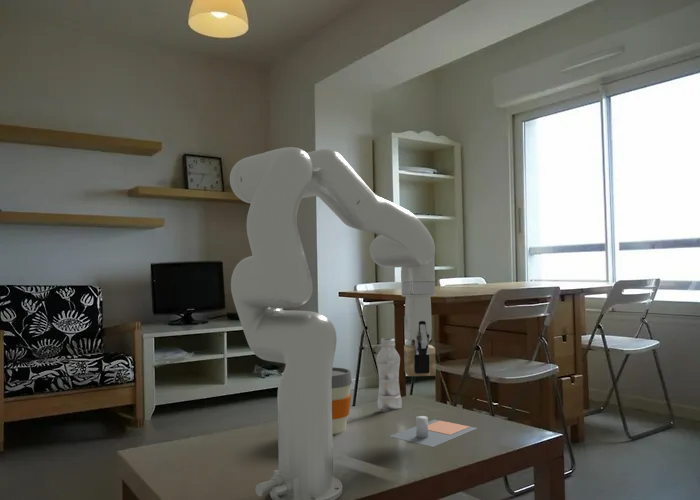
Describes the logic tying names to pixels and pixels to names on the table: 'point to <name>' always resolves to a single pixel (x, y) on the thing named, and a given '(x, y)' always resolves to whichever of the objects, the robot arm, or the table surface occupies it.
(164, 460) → the table surface
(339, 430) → the reusable coffee cup
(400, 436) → the post plate
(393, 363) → the plastic bottle
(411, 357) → the wooden block
